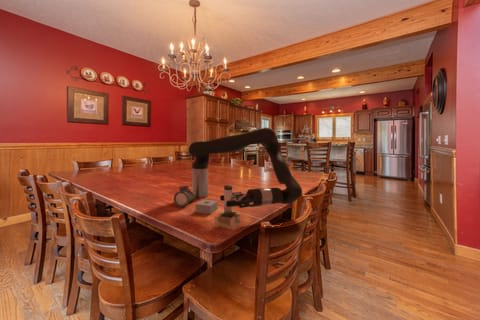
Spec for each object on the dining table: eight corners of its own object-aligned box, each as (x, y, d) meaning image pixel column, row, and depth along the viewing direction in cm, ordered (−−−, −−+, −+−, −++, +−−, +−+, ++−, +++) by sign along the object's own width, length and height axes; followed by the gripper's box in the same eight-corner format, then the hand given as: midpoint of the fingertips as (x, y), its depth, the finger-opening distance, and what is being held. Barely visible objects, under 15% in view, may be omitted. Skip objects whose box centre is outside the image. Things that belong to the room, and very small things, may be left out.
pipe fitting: (187, 207, 108) (186, 186, 108) (173, 207, 109) (172, 187, 110) (197, 202, 119) (196, 184, 120) (184, 203, 121) (183, 185, 121)
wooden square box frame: (222, 219, 93) (222, 210, 92) (240, 221, 90) (240, 212, 90) (214, 226, 85) (214, 217, 85) (233, 229, 83) (233, 219, 82)
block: (203, 207, 109) (203, 199, 109) (217, 208, 107) (217, 201, 106) (195, 212, 102) (195, 204, 101) (210, 214, 99) (210, 205, 99)
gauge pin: (225, 222, 90) (225, 184, 88) (233, 223, 89) (233, 185, 87) (222, 225, 87) (222, 186, 85) (230, 226, 86) (230, 187, 84)
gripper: (252, 185, 98) (218, 188, 92) (267, 192, 85) (228, 196, 79) (252, 201, 99) (218, 204, 93) (267, 210, 85) (228, 216, 80)
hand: (223, 201), depth 86 cm, fingers open, 8 cm apart
